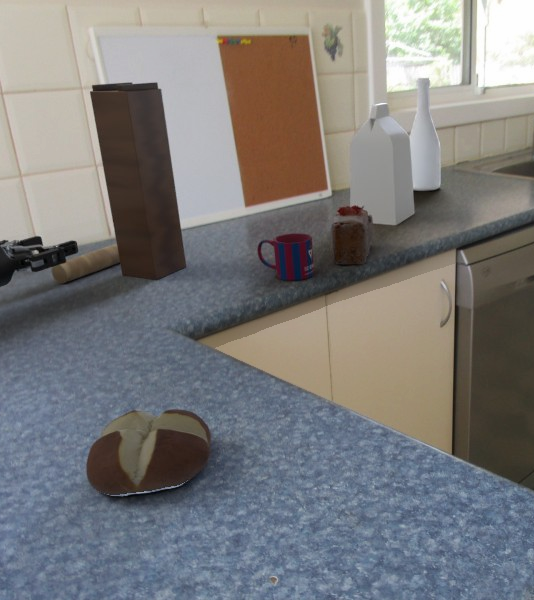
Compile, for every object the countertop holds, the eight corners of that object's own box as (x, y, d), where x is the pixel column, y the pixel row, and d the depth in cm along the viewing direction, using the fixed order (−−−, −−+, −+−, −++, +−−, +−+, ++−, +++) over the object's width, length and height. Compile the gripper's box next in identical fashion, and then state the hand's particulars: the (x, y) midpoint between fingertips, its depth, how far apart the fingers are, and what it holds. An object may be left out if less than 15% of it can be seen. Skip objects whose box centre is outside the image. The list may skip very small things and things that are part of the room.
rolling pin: (69, 283, 116) (62, 263, 115) (55, 283, 117) (48, 264, 116) (152, 252, 133) (147, 235, 132) (138, 253, 134) (134, 236, 133)
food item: (335, 245, 136) (332, 198, 132) (374, 244, 136) (372, 197, 133) (330, 266, 123) (327, 214, 120) (373, 265, 123) (371, 213, 120)
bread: (72, 504, 59) (61, 457, 58) (122, 435, 70) (114, 393, 68) (197, 502, 59) (189, 454, 57) (227, 433, 70) (222, 391, 68)
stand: (156, 280, 118) (125, 85, 106) (122, 275, 121) (88, 84, 109) (186, 267, 124) (160, 82, 113) (153, 262, 127) (125, 82, 116)
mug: (304, 282, 115) (301, 244, 112) (253, 277, 118) (249, 240, 115) (320, 270, 121) (317, 234, 118) (271, 266, 124) (267, 231, 121)
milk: (395, 225, 151) (393, 106, 142) (350, 221, 155) (345, 106, 146) (414, 213, 161) (413, 102, 152) (371, 210, 165) (367, 101, 156)
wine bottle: (447, 187, 190) (447, 77, 180) (426, 192, 184) (425, 79, 173) (421, 183, 196) (420, 77, 186) (400, 188, 190) (398, 78, 179)
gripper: (-5, 252, 97) (84, 226, 111) (-68, 243, 103) (24, 219, 117) (7, 299, 100) (92, 268, 114) (-55, 288, 105) (34, 260, 119)
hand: (58, 243), depth 115 cm, fingers open, 8 cm apart
